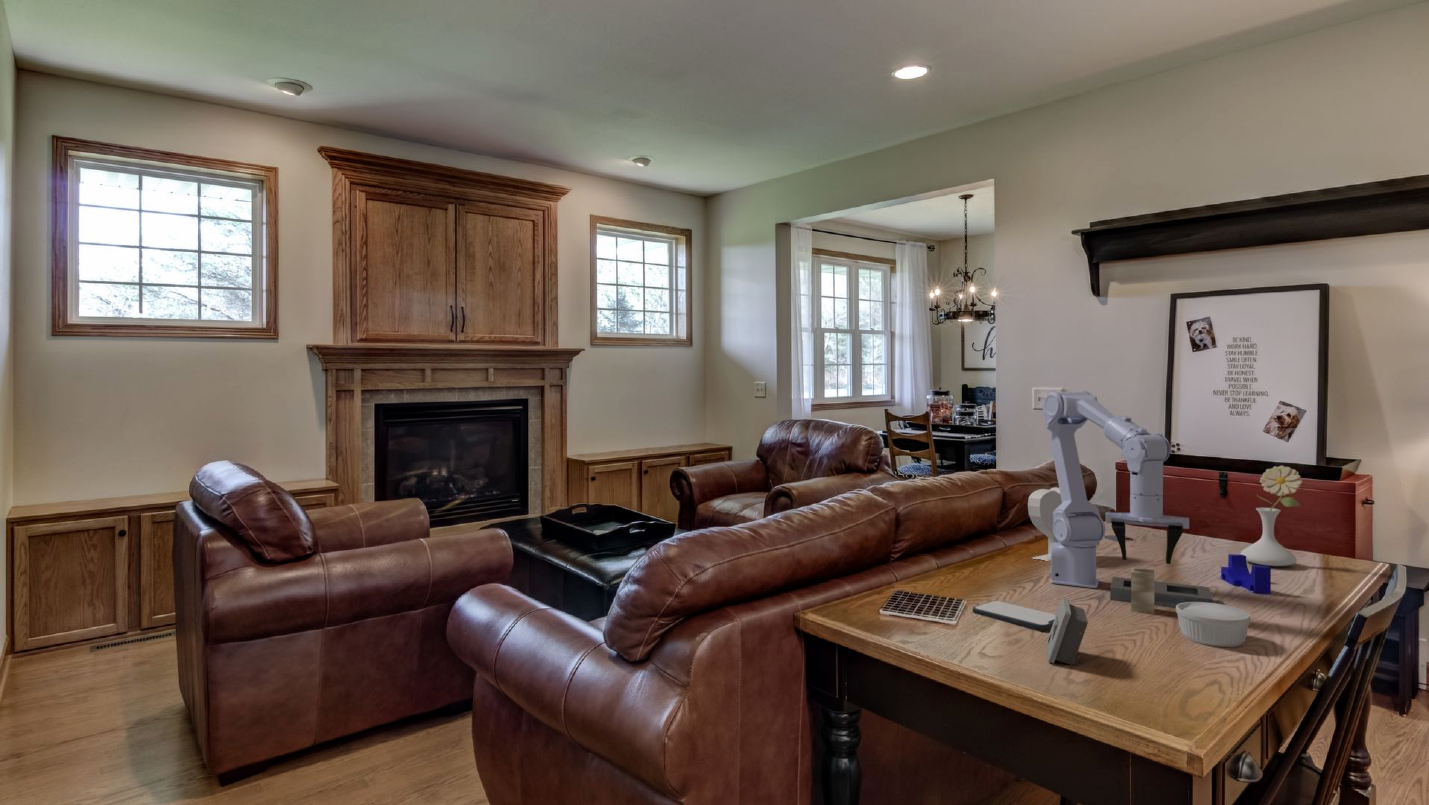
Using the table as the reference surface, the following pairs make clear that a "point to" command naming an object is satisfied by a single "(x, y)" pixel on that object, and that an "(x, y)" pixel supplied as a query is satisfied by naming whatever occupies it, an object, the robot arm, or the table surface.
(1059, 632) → the electrical switch
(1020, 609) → the phone case
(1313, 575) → the table surface
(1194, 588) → the grey slotted board
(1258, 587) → the cable clip
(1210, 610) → the ramekin
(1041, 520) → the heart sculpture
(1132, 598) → the peg
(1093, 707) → the table surface
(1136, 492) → the robot arm
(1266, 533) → the flower in vase
